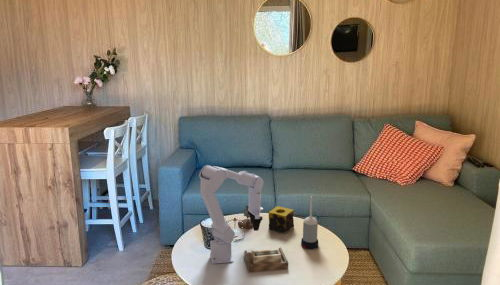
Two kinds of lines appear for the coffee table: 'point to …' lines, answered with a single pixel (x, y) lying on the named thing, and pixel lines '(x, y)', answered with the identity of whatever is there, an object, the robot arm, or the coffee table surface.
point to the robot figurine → (246, 220)
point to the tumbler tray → (266, 256)
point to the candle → (281, 219)
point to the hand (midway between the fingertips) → (254, 226)
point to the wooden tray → (265, 266)
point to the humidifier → (310, 231)
